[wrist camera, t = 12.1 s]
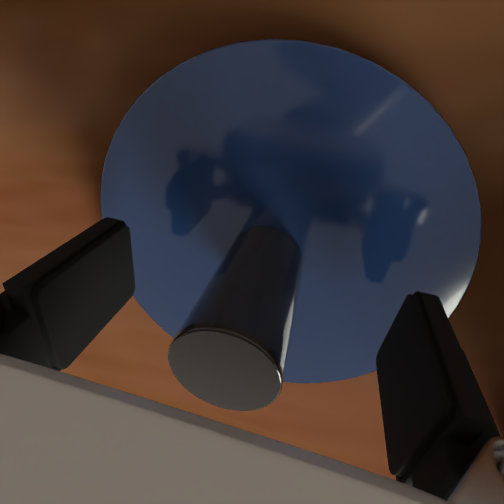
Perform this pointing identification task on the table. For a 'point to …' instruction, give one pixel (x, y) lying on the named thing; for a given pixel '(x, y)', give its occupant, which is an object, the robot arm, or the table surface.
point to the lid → (287, 213)
